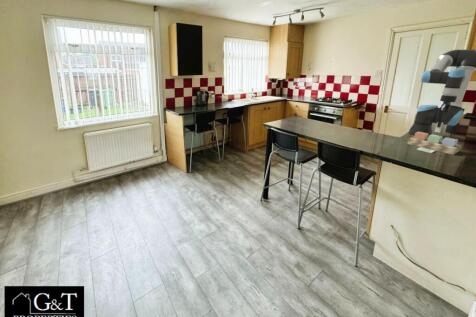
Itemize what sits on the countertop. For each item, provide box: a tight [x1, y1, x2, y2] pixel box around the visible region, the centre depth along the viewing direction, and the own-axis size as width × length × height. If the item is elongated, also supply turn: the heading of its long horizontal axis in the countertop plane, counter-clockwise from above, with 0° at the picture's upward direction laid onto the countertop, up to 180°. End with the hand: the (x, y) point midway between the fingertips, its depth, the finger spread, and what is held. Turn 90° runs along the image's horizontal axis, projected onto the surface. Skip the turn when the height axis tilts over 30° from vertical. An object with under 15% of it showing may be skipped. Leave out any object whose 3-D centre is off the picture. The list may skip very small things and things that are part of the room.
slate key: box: [442, 136, 459, 147], centre depth 158 cm, size 6×6×5 cm
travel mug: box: [444, 107, 466, 134], centre depth 203 cm, size 8×8×20 cm
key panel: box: [406, 135, 462, 156], centre depth 165 cm, size 26×12×4 cm, turn 37°
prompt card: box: [416, 147, 435, 154], centre depth 159 cm, size 8×6×1 cm
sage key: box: [427, 133, 444, 144], centre depth 164 cm, size 6×6×5 cm
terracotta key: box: [413, 132, 429, 141], centre depth 170 cm, size 6×6×5 cm
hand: (437, 131), depth 162 cm, fingers closed
